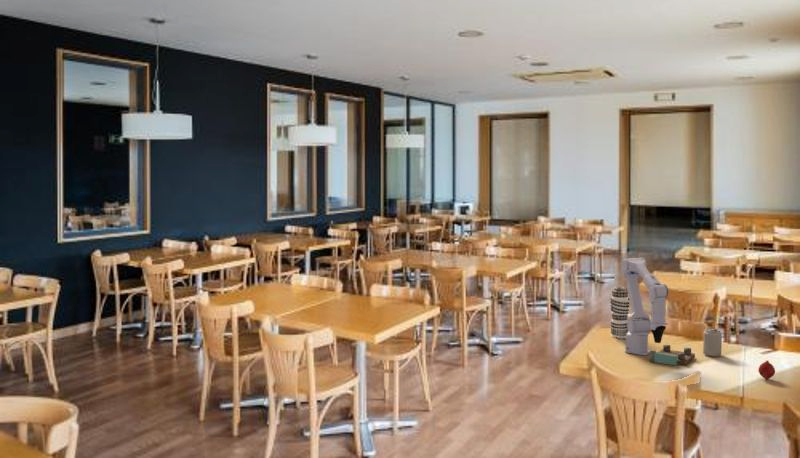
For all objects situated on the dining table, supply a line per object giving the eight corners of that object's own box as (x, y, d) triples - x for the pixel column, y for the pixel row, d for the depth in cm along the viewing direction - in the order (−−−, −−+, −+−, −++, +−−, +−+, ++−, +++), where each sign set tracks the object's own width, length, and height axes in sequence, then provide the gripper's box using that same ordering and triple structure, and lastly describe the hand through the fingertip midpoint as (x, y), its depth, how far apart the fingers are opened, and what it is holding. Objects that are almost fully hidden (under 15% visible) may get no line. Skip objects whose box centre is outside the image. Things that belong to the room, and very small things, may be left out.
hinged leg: (649, 361, 294) (649, 351, 293) (650, 360, 296) (651, 350, 295) (675, 365, 287) (675, 355, 286) (677, 364, 289) (677, 354, 288)
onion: (755, 377, 270) (755, 358, 269) (768, 376, 271) (769, 357, 270) (764, 382, 264) (764, 362, 263) (777, 381, 265) (778, 362, 264)
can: (723, 357, 297) (723, 331, 296) (705, 357, 299) (705, 331, 297) (718, 352, 304) (719, 327, 303) (701, 352, 306) (701, 326, 305)
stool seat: (652, 360, 296) (652, 350, 295) (662, 353, 306) (663, 343, 306) (685, 366, 287) (685, 355, 286) (694, 358, 298) (695, 348, 297)
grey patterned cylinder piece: (613, 332, 344) (613, 284, 341) (631, 334, 338) (632, 286, 336) (607, 336, 336) (607, 288, 334) (626, 339, 331) (626, 289, 328)
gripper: (662, 316, 281) (661, 347, 282) (672, 310, 292) (672, 340, 294) (645, 314, 285) (645, 345, 287) (656, 308, 296) (656, 337, 298)
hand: (657, 342), depth 290 cm, fingers closed
